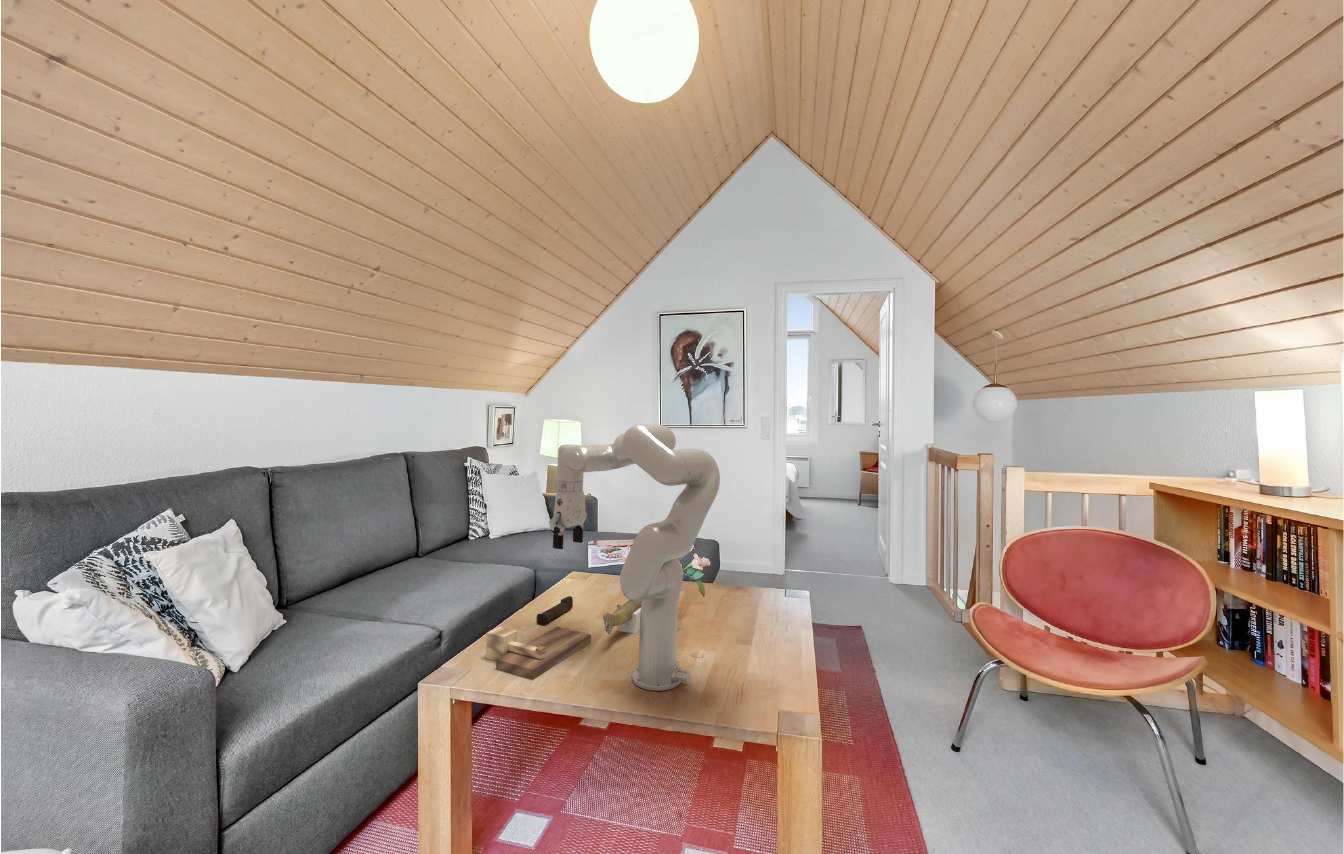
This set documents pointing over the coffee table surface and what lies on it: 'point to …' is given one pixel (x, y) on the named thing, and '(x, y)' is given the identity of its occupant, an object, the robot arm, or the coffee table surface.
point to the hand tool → (555, 611)
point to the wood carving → (624, 617)
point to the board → (557, 649)
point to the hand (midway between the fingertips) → (568, 545)
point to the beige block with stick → (509, 645)
